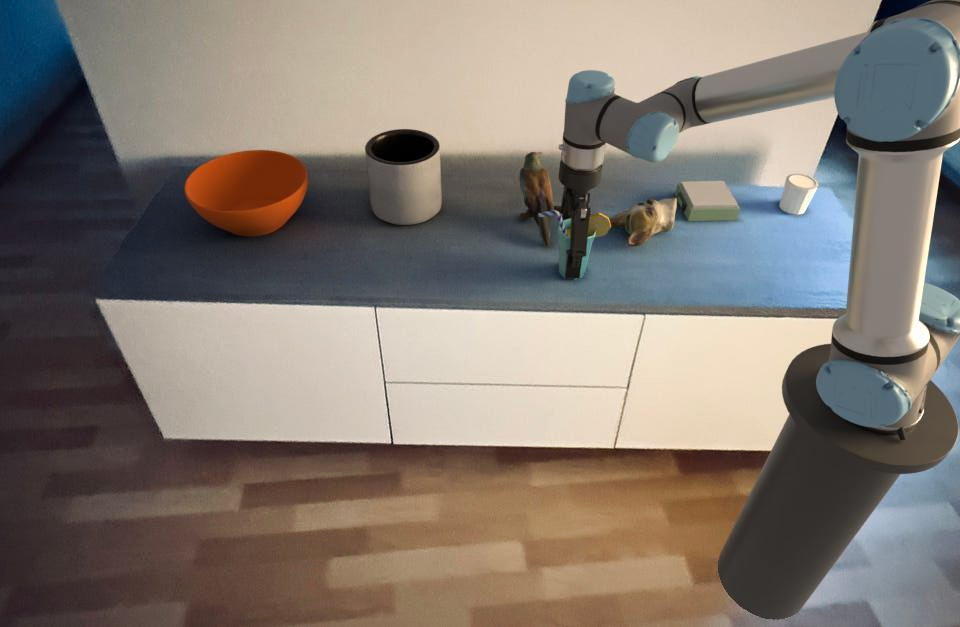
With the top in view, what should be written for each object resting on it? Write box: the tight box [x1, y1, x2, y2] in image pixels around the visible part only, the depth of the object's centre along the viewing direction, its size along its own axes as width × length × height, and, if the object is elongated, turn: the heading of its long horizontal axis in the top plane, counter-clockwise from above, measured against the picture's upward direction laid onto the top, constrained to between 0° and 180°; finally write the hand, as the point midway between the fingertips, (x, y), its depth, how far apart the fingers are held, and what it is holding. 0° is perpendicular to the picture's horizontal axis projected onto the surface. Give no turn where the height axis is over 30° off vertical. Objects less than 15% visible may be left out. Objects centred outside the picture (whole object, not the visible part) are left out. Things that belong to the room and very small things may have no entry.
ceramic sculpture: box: [609, 197, 678, 247], centre depth 143 cm, size 11×9×15 cm
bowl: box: [184, 149, 309, 237], centre depth 145 cm, size 25×25×10 cm
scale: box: [674, 180, 741, 222], centre depth 153 cm, size 11×12×4 cm
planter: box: [364, 128, 443, 226], centre depth 147 cm, size 16×16×16 cm
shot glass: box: [779, 173, 819, 215], centre depth 152 cm, size 7×7×7 cm
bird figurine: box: [519, 151, 562, 248], centre depth 145 cm, size 13×10×20 cm
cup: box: [538, 210, 612, 281], centre depth 131 cm, size 14×8×15 cm, turn 96°
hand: (568, 262), depth 134 cm, fingers open, 8 cm apart
